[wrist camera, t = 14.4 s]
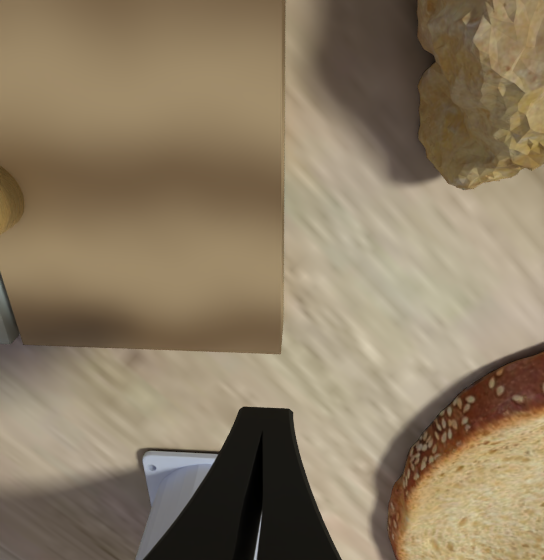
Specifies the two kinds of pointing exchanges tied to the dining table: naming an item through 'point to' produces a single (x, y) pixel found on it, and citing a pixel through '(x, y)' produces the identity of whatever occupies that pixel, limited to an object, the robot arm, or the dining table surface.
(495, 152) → the stone tool
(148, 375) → the dining table surface
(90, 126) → the door mockup
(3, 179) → the bar
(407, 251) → the dining table surface
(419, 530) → the slice of bread
